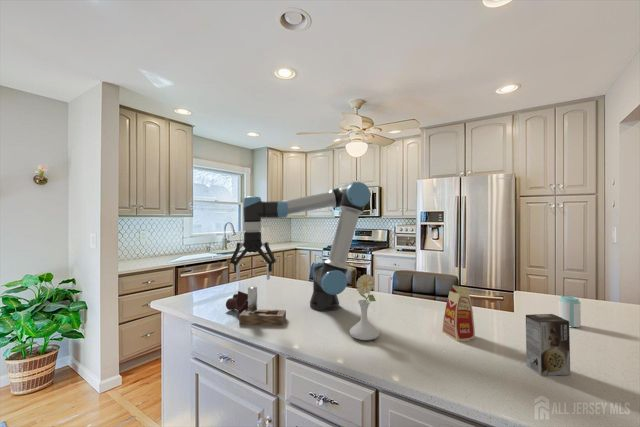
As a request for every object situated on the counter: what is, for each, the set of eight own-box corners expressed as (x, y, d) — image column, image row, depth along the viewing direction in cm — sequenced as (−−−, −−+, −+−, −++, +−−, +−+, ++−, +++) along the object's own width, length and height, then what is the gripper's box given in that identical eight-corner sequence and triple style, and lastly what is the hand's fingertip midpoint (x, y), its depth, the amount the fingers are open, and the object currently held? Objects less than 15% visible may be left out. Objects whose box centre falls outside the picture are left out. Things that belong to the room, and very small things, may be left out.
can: (557, 321, 130) (557, 294, 130) (578, 324, 126) (578, 296, 127) (560, 326, 124) (560, 298, 124) (582, 329, 120) (582, 300, 120)
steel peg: (258, 317, 132) (258, 286, 132) (255, 320, 128) (255, 288, 128) (249, 317, 132) (249, 286, 132) (246, 320, 128) (246, 288, 128)
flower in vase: (344, 333, 117) (344, 270, 117) (369, 329, 121) (369, 269, 121) (360, 347, 104) (360, 277, 105) (387, 342, 108) (387, 275, 109)
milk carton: (457, 341, 109) (457, 288, 109) (441, 332, 118) (440, 282, 118) (477, 338, 112) (477, 286, 112) (459, 329, 120) (459, 281, 121)
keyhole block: (285, 318, 133) (285, 309, 133) (282, 325, 125) (282, 316, 125) (244, 318, 134) (244, 309, 134) (239, 324, 126) (239, 315, 126)
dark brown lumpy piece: (245, 311, 132) (250, 289, 137) (222, 313, 141) (228, 292, 146) (255, 314, 136) (259, 292, 141) (233, 315, 146) (237, 295, 150)
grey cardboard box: (553, 364, 92) (552, 313, 93) (571, 375, 86) (570, 320, 86) (524, 365, 92) (524, 313, 92) (541, 376, 86) (540, 321, 86)
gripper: (281, 230, 133) (282, 277, 133) (228, 231, 135) (228, 277, 134) (278, 231, 126) (279, 280, 126) (221, 232, 127) (222, 281, 127)
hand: (253, 279), depth 130 cm, fingers open, 13 cm apart
